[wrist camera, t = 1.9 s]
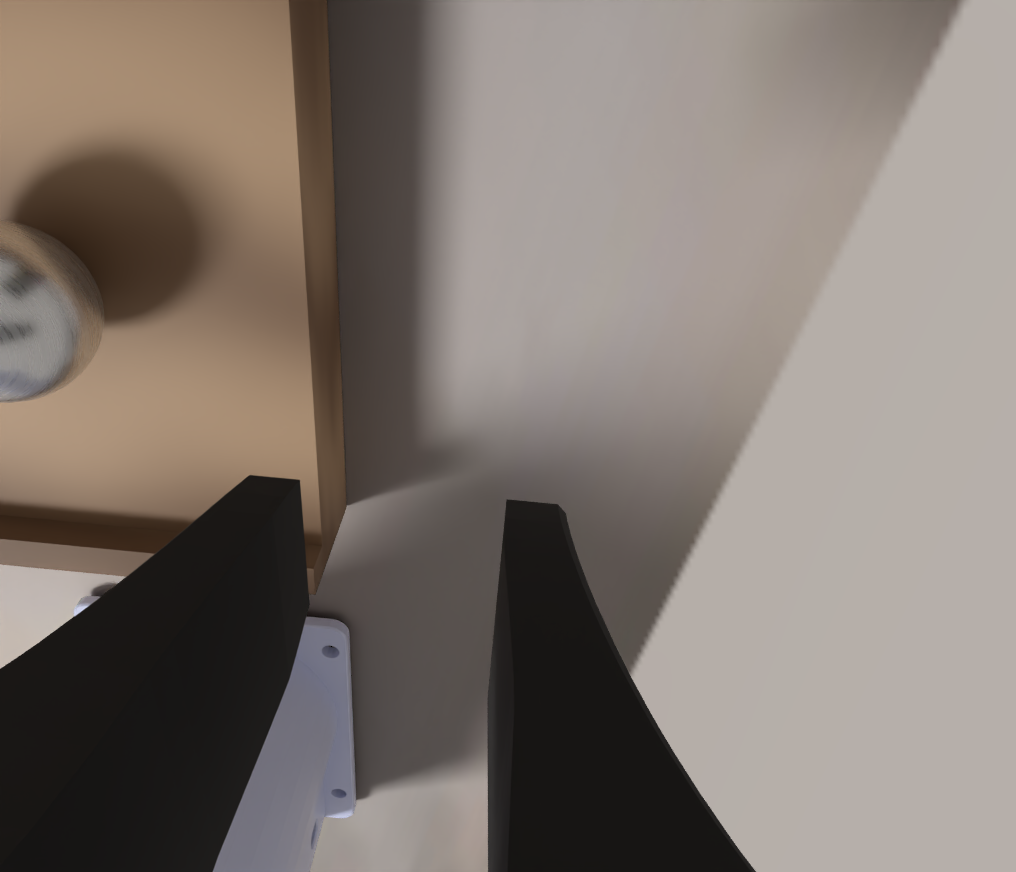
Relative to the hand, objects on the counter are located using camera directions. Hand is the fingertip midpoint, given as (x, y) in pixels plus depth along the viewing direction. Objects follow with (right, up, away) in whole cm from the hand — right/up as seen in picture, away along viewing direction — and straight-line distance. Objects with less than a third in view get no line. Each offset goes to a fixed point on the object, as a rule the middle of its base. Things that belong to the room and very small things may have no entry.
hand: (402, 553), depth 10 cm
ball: (-8, +4, +4) cm, 10 cm away
